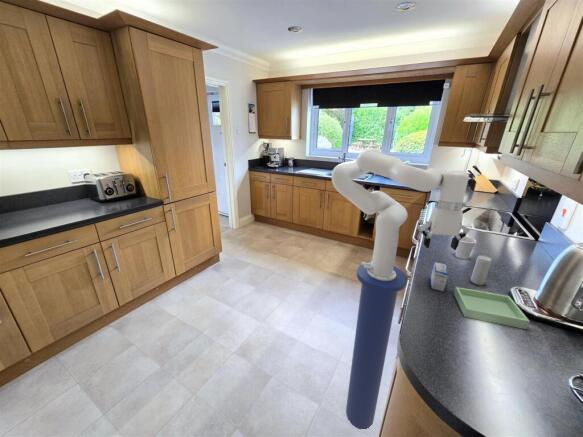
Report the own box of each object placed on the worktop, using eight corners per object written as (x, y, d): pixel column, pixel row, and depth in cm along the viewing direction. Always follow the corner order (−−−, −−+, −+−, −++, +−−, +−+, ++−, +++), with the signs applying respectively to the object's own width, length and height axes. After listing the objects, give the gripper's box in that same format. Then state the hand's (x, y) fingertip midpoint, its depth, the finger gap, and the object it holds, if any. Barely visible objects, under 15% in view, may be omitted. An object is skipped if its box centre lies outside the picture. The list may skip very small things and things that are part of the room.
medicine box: (430, 279, 107) (434, 261, 104) (442, 281, 105) (446, 264, 102) (431, 288, 100) (435, 270, 97) (443, 291, 98) (448, 273, 95)
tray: (464, 316, 85) (466, 309, 84) (453, 293, 97) (455, 286, 96) (526, 329, 80) (529, 321, 78) (506, 303, 92) (509, 296, 91)
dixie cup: (453, 258, 125) (458, 240, 121) (451, 251, 132) (455, 234, 128) (472, 262, 121) (478, 244, 118) (469, 254, 128) (474, 237, 125)
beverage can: (468, 278, 107) (475, 254, 103) (481, 280, 106) (489, 256, 102) (472, 284, 103) (480, 259, 99) (485, 286, 101) (494, 261, 97)
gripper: (469, 203, 90) (459, 245, 96) (420, 201, 93) (413, 242, 99) (481, 209, 83) (469, 253, 89) (427, 207, 86) (419, 250, 92)
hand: (439, 247), depth 94 cm, fingers open, 9 cm apart
